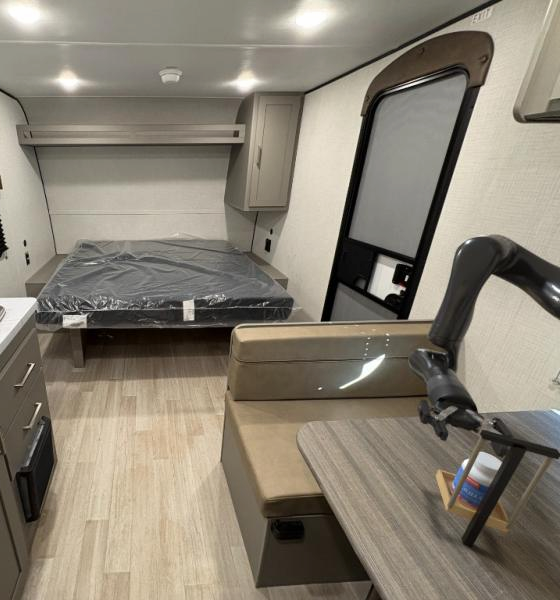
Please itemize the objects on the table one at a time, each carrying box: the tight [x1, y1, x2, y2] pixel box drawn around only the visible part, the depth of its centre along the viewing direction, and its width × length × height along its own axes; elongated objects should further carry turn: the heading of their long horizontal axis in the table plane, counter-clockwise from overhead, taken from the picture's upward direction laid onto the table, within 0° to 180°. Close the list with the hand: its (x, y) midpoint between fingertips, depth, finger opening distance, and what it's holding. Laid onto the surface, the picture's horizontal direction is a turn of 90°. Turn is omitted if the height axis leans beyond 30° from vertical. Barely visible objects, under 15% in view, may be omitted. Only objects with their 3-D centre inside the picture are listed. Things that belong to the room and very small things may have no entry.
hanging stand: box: [435, 430, 560, 548], centre depth 57 cm, size 9×9×25 cm
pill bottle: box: [450, 451, 503, 510], centre depth 58 cm, size 6×5×10 cm
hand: (472, 445), depth 62 cm, fingers open, 8 cm apart
